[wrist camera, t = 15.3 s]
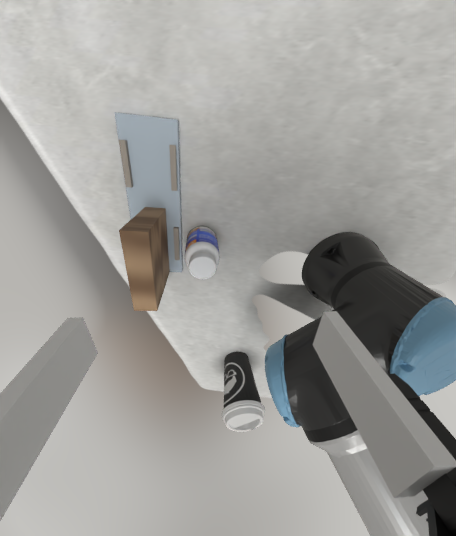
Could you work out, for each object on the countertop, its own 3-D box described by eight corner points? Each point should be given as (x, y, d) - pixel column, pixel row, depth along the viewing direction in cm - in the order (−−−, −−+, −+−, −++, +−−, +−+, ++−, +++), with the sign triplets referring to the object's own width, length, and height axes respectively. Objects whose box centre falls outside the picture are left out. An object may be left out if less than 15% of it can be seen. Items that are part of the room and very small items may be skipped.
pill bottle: (191, 221, 35) (188, 246, 27) (220, 231, 37) (226, 257, 28) (183, 248, 38) (178, 278, 29) (211, 256, 39) (214, 286, 31)
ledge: (178, 120, 28) (176, 118, 27) (182, 269, 40) (181, 274, 38) (117, 113, 27) (111, 111, 26) (140, 268, 39) (137, 273, 38)
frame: (144, 206, 33) (118, 230, 23) (165, 208, 33) (148, 231, 23) (151, 271, 38) (133, 310, 29) (169, 271, 39) (157, 310, 29)
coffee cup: (222, 372, 58) (226, 436, 45) (215, 351, 53) (217, 416, 40) (255, 366, 58) (268, 429, 45) (251, 345, 53) (265, 407, 40)
